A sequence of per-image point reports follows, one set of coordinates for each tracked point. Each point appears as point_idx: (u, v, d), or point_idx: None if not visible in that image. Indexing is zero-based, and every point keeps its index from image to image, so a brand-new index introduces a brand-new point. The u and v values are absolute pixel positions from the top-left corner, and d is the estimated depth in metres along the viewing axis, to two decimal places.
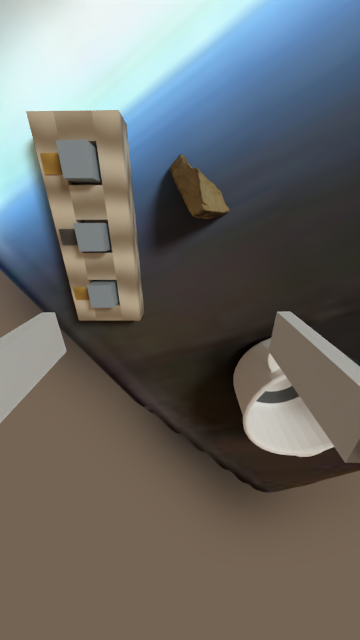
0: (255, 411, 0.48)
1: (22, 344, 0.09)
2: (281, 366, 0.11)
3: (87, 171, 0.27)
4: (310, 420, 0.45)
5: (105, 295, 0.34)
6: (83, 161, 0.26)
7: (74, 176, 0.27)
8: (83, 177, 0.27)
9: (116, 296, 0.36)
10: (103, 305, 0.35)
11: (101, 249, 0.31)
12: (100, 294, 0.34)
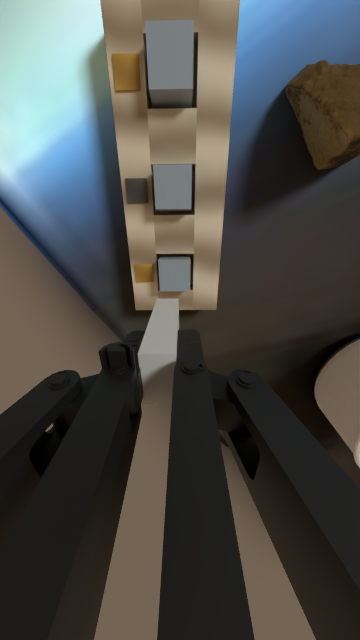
0: None
1: None
2: None
3: (186, 77, 0.18)
4: None
5: (181, 274, 0.25)
6: (183, 59, 0.17)
7: (165, 87, 0.18)
8: (178, 88, 0.18)
9: None
10: (176, 288, 0.26)
11: (187, 206, 0.22)
12: (174, 272, 0.25)
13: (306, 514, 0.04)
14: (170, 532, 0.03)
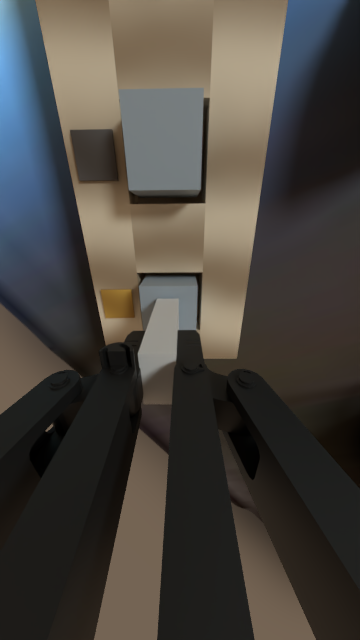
0: None
1: None
2: None
3: None
4: None
5: (181, 310, 0.14)
6: None
7: None
8: None
9: None
10: None
11: (192, 183, 0.11)
12: None
13: (307, 514, 0.04)
14: (170, 532, 0.03)
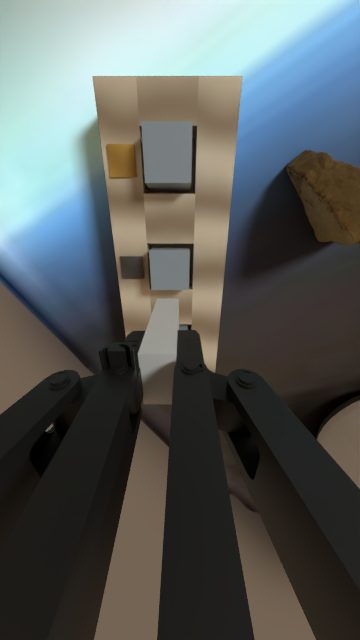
0: None
1: None
2: None
3: (184, 172, 0.17)
4: None
5: None
6: (181, 156, 0.16)
7: (161, 180, 0.17)
8: (176, 182, 0.17)
9: None
10: None
11: (184, 287, 0.21)
12: None
13: (307, 514, 0.04)
14: (170, 532, 0.03)
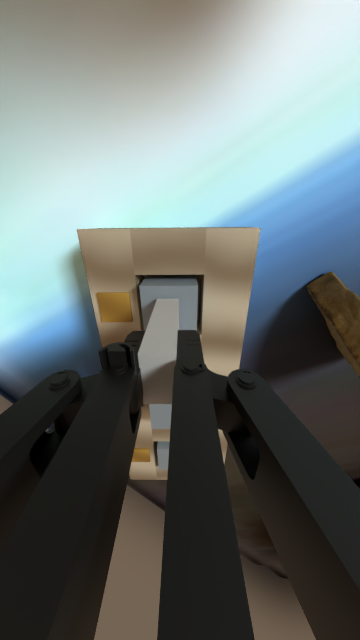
0: None
1: None
2: None
3: (188, 328, 0.15)
4: None
5: None
6: (185, 315, 0.14)
7: None
8: None
9: None
10: None
11: None
12: None
13: (307, 514, 0.04)
14: (170, 532, 0.03)
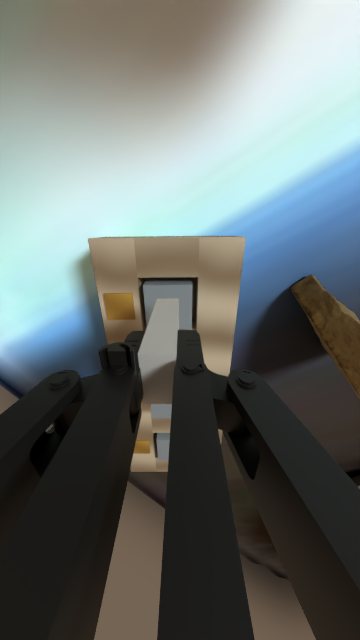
0: None
1: None
2: None
3: (185, 321, 0.17)
4: None
5: None
6: (181, 310, 0.17)
7: None
8: None
9: None
10: None
11: None
12: None
13: (307, 514, 0.04)
14: (170, 532, 0.03)
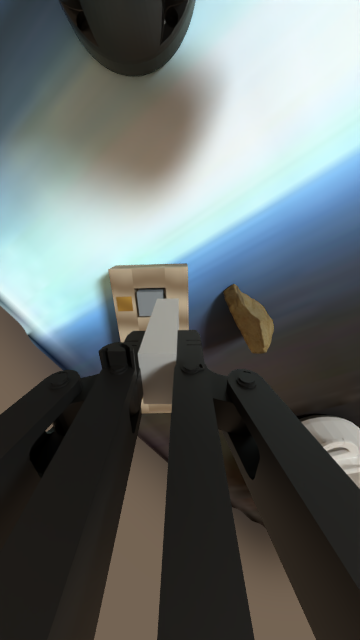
0: None
1: None
2: None
3: None
4: None
5: None
6: None
7: (148, 314, 0.32)
8: None
9: None
10: None
11: None
12: None
13: (306, 514, 0.04)
14: (170, 532, 0.03)
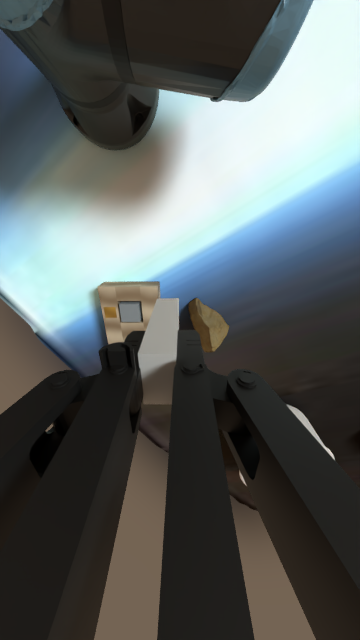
0: None
1: None
2: None
3: (137, 318, 0.42)
4: None
5: None
6: (135, 314, 0.41)
7: (128, 320, 0.42)
8: (134, 321, 0.42)
9: None
10: None
11: None
12: None
13: (307, 514, 0.04)
14: (170, 532, 0.03)
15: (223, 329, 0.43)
